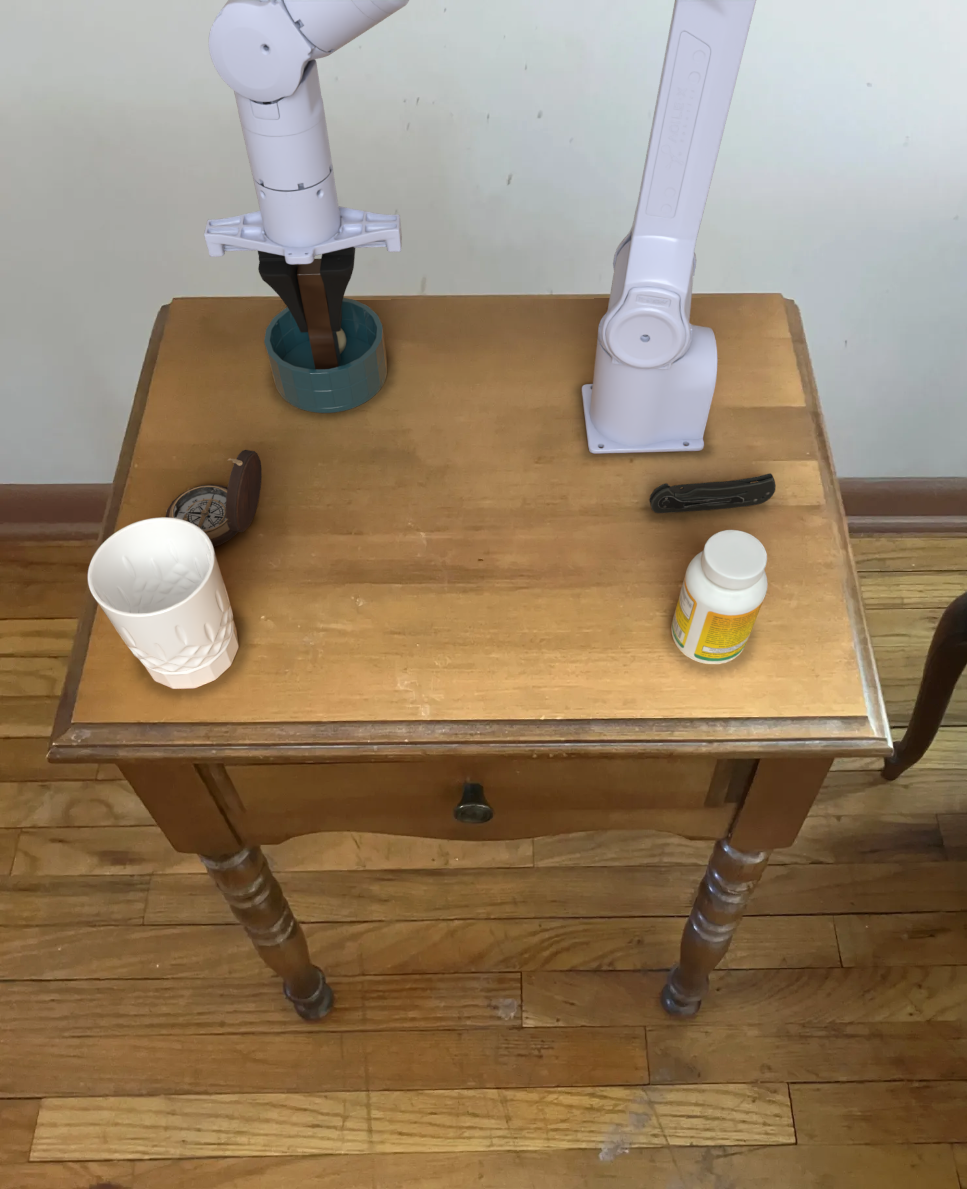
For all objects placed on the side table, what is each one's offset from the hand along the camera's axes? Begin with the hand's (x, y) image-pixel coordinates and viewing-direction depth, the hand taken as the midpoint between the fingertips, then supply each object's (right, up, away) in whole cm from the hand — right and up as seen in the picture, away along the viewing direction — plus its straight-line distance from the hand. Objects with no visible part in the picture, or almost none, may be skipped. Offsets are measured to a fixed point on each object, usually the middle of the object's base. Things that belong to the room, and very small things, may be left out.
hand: (320, 324), depth 80 cm
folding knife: (+31, -16, -3) cm, 35 cm away
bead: (0, -1, +7) cm, 7 cm away
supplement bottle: (+29, -25, -10) cm, 40 cm away
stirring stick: (0, -3, +4) cm, 4 cm away
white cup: (-7, -26, -10) cm, 29 cm away
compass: (-8, -17, -4) cm, 20 cm away
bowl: (0, -3, +6) cm, 7 cm away
